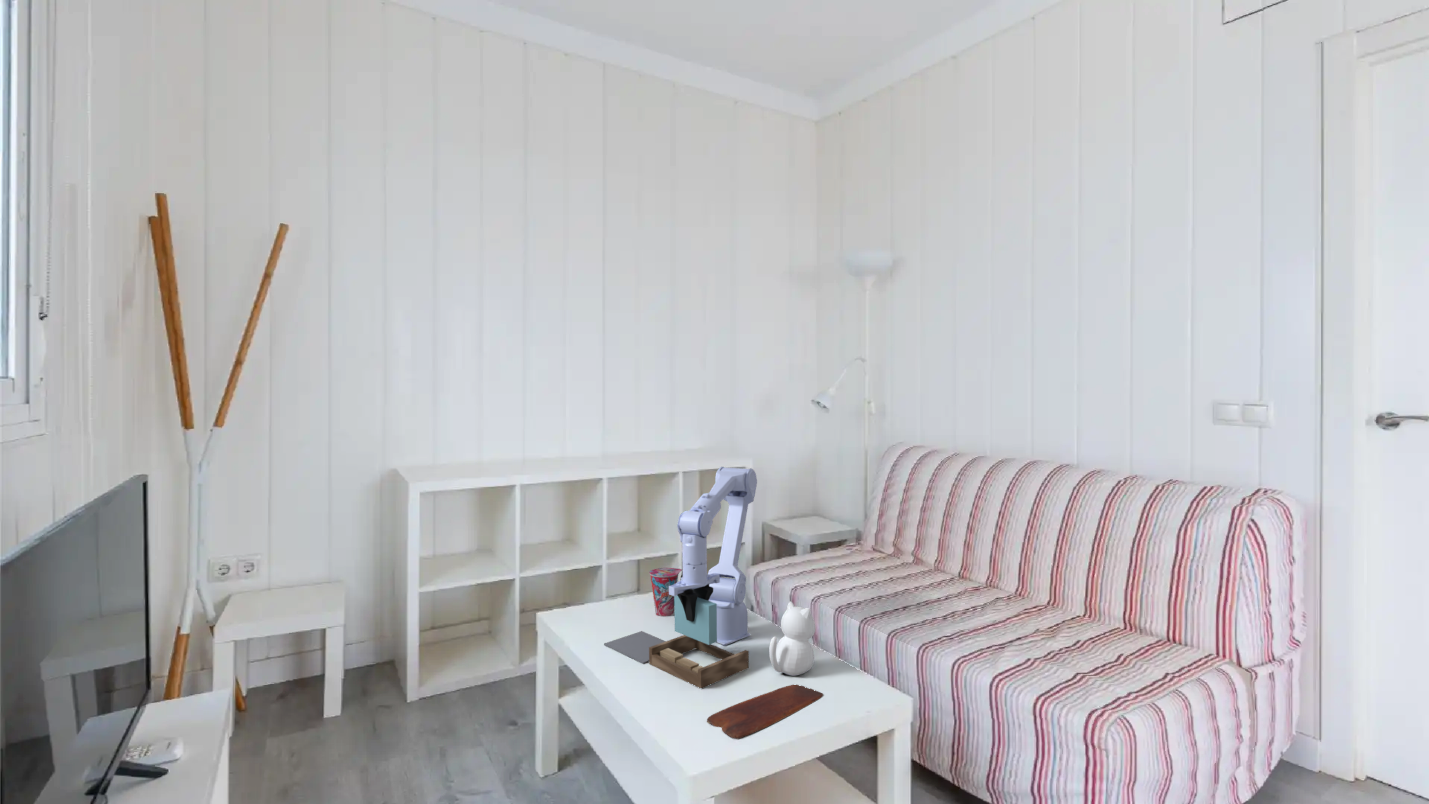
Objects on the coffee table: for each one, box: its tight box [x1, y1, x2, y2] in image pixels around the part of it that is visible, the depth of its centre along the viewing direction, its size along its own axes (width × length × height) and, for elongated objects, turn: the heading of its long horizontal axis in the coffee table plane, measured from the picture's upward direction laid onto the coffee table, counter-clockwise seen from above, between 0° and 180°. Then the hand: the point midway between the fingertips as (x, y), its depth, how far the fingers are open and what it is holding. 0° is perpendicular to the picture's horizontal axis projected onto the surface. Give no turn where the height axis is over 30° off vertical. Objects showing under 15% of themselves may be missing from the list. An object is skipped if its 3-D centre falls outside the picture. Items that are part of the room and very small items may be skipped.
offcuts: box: [660, 648, 703, 673], centre depth 161 cm, size 2×15×3 cm, turn 44°
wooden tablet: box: [706, 684, 824, 740], centre depth 143 cm, size 27×10×2 cm, turn 131°
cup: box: [649, 567, 683, 617], centre depth 199 cm, size 9×8×12 cm
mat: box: [603, 630, 667, 665], centre depth 175 cm, size 12×16×1 cm
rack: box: [648, 634, 750, 689], centre depth 163 cm, size 15×18×4 cm
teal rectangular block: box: [674, 596, 717, 645], centre depth 165 cm, size 2×12×9 cm, turn 44°
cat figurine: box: [768, 600, 816, 677], centre depth 160 cm, size 9×12×15 cm
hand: (695, 618), depth 165 cm, fingers closed on teal rectangular block, 2 cm apart
